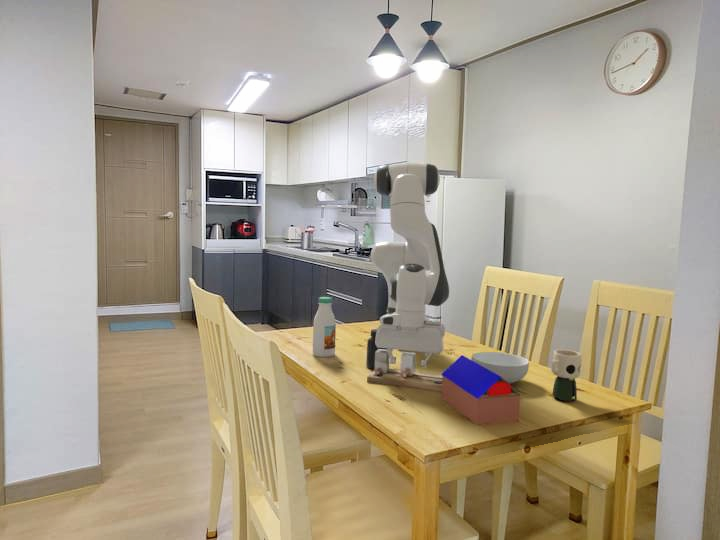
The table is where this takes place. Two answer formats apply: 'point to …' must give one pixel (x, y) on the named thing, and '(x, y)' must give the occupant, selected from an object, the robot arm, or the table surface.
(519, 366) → the cereal bowl
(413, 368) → the block
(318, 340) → the milk bottle
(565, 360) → the character mug
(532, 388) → the table surface
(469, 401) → the house
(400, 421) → the table surface
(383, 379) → the board
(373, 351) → the supplement bottle
